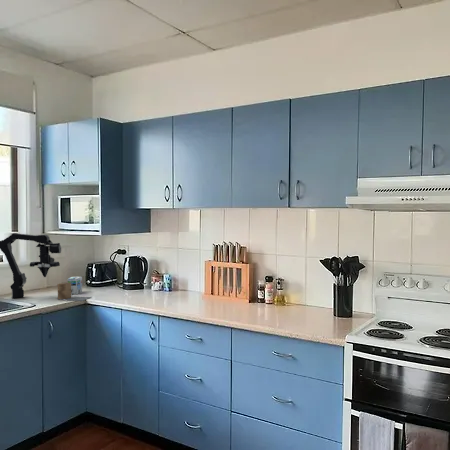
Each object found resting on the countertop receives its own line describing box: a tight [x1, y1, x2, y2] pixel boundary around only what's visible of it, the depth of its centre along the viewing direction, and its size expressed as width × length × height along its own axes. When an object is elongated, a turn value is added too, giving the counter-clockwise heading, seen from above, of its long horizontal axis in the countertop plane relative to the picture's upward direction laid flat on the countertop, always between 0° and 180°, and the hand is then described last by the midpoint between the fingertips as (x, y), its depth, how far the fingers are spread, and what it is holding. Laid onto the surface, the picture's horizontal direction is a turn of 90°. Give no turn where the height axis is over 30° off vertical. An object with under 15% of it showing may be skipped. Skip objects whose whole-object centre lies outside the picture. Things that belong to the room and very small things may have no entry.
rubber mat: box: [66, 296, 92, 302], centre depth 292 cm, size 12×12×1 cm
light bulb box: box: [67, 276, 83, 295], centre depth 314 cm, size 11×7×11 cm, turn 179°
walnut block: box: [57, 282, 72, 301], centre depth 293 cm, size 6×6×10 cm
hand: (45, 277), depth 301 cm, fingers closed
